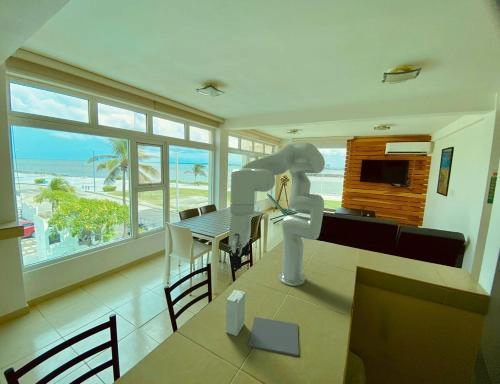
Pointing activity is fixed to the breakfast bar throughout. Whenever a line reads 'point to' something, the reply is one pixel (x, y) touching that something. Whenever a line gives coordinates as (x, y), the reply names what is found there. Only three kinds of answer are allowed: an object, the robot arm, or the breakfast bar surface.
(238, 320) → the skincare box
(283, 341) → the mat
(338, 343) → the breakfast bar surface
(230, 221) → the robot arm
